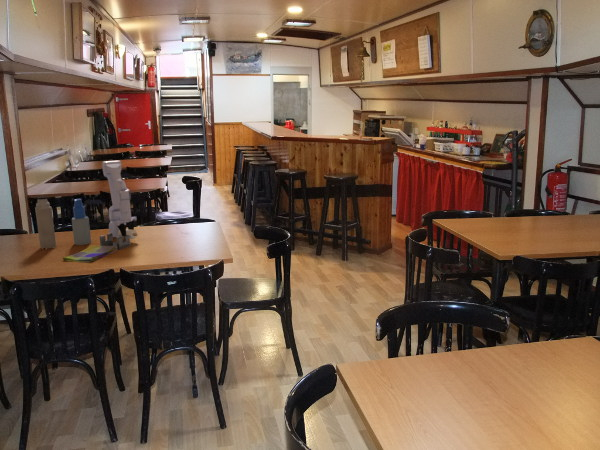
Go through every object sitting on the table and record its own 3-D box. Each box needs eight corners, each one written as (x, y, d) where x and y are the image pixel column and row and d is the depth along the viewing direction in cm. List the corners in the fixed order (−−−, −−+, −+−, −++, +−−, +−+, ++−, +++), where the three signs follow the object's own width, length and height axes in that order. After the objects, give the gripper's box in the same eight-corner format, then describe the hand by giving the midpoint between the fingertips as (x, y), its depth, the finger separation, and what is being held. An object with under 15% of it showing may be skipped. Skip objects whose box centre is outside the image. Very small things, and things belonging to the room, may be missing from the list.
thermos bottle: (47, 245, 313) (41, 195, 306) (59, 245, 310) (53, 195, 304) (37, 248, 305) (30, 198, 299) (48, 249, 303) (42, 198, 297)
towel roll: (115, 238, 315) (114, 229, 314) (122, 235, 320) (121, 227, 319) (133, 240, 310) (132, 231, 309) (139, 237, 314) (139, 229, 313)
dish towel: (60, 261, 281) (60, 256, 281) (91, 249, 304) (91, 244, 304) (90, 263, 277) (90, 258, 276) (119, 250, 299) (119, 245, 299)
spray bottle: (82, 240, 321) (78, 197, 316) (94, 241, 317) (90, 198, 312) (70, 244, 313) (65, 200, 308) (82, 245, 310) (77, 201, 304)
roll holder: (98, 247, 305) (97, 236, 304) (111, 243, 314) (110, 232, 312) (119, 249, 299) (118, 238, 298) (132, 245, 308) (131, 234, 306)
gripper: (121, 214, 303) (123, 239, 306) (139, 209, 316) (141, 233, 319) (111, 213, 306) (114, 237, 309) (130, 208, 319) (132, 232, 322)
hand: (127, 235), depth 314 cm, fingers closed on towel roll, 5 cm apart
